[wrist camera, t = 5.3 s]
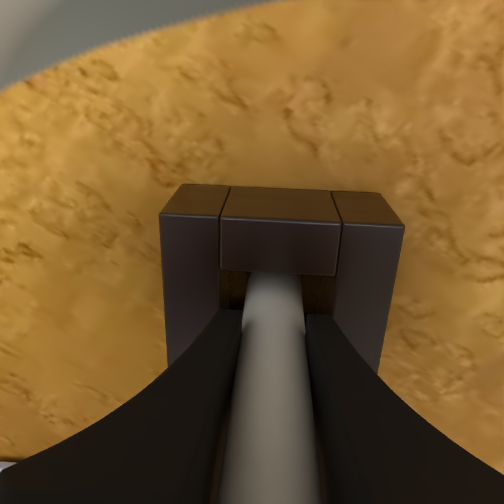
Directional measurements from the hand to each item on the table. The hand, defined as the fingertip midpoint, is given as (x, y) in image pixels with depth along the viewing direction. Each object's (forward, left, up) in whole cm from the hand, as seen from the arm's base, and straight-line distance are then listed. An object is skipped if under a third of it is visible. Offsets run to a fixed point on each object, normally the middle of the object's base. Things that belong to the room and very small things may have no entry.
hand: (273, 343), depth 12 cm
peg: (0, 0, -4) cm, 4 cm away
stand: (0, 0, -4) cm, 4 cm away
